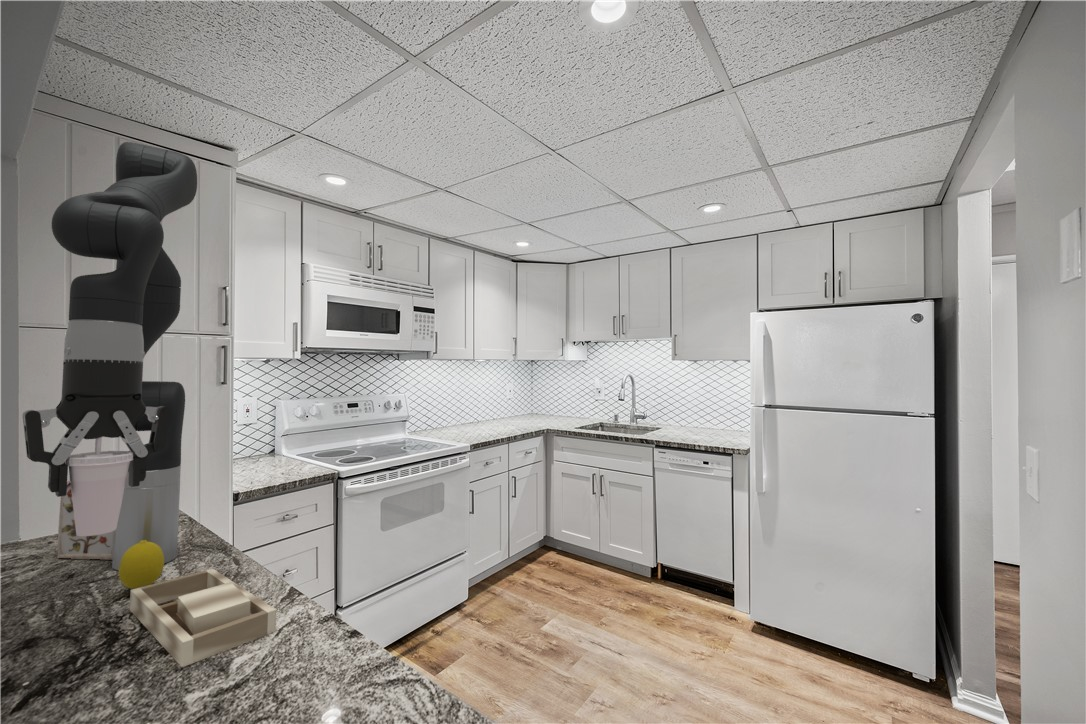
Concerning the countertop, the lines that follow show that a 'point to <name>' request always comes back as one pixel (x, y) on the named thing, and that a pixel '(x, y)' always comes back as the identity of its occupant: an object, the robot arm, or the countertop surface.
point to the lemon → (141, 565)
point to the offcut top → (213, 607)
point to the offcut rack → (206, 642)
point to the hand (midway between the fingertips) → (98, 490)
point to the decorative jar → (80, 545)
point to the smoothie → (98, 488)
